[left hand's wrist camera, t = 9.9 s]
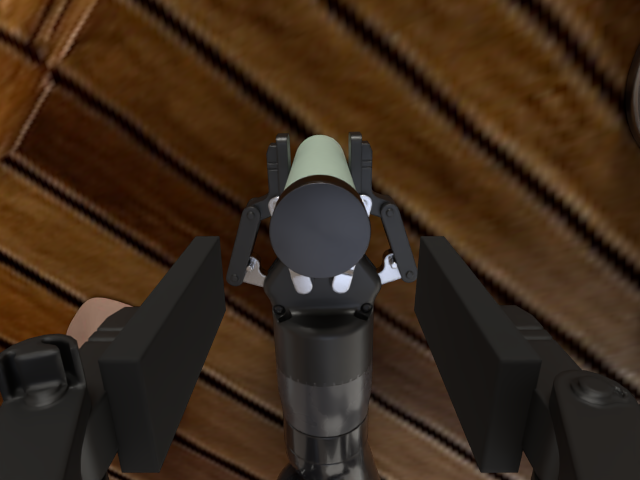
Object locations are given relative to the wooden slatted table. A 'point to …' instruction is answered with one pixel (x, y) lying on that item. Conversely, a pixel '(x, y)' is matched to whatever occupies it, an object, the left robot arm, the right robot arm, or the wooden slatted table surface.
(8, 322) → the wooden slatted table surface
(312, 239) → the lid
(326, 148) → the pale green cylinder
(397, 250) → the right robot arm
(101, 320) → the anatomical model
